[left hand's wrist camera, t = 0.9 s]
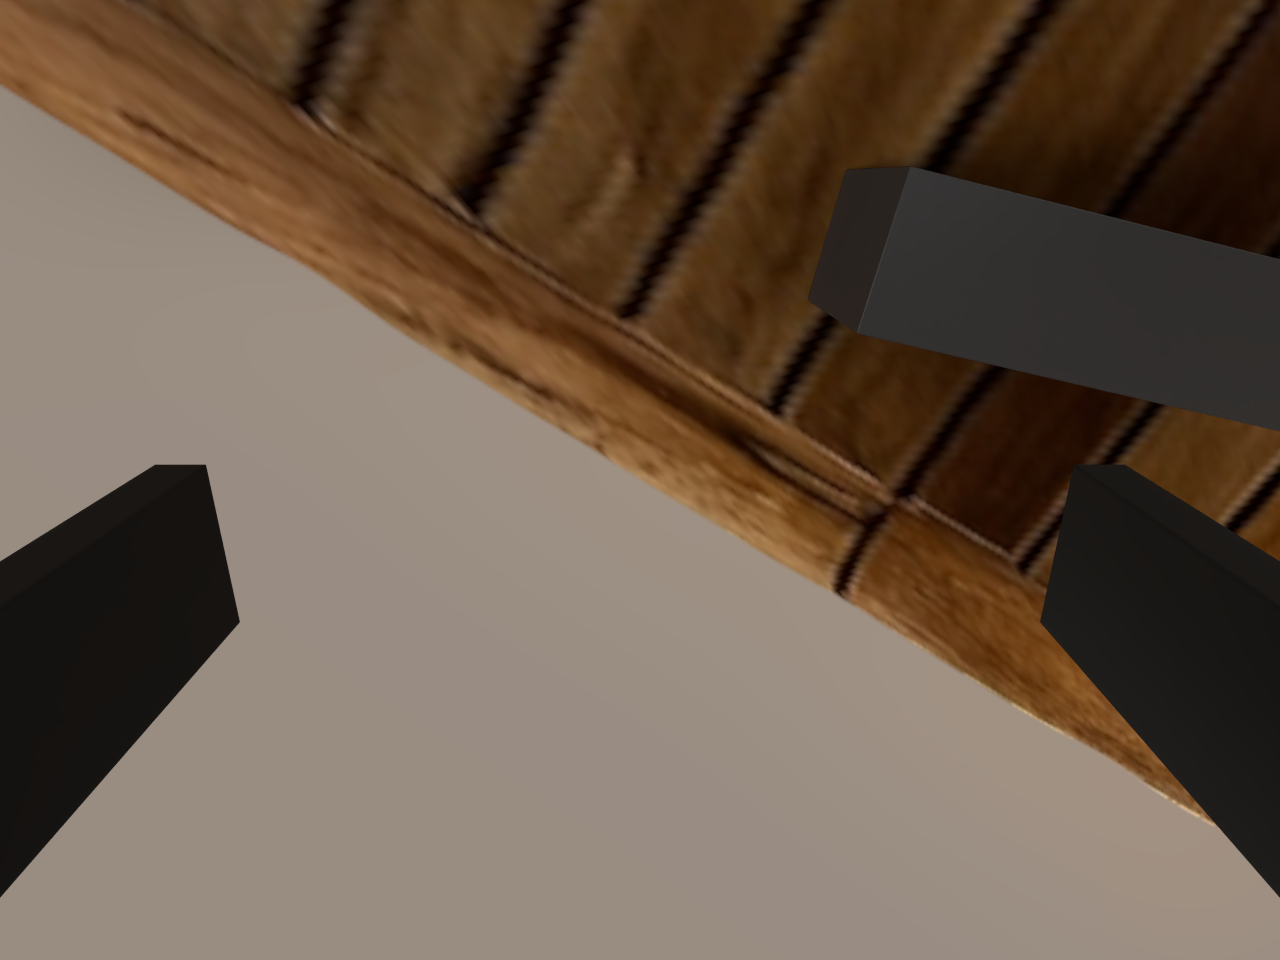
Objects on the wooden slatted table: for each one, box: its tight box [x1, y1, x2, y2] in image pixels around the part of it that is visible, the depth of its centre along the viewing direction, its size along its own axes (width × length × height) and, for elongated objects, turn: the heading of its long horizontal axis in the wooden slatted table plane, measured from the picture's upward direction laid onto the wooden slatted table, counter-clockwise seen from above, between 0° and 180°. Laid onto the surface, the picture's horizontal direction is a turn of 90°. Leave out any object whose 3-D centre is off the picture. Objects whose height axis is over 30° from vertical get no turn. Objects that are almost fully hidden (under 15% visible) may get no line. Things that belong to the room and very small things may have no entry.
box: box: [808, 166, 1280, 431], centre depth 34 cm, size 22×6×9 cm, turn 77°
